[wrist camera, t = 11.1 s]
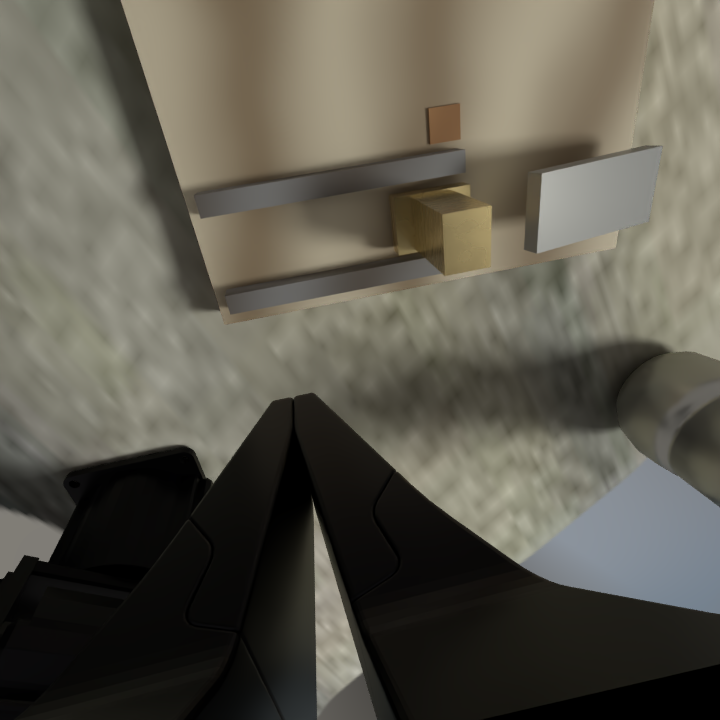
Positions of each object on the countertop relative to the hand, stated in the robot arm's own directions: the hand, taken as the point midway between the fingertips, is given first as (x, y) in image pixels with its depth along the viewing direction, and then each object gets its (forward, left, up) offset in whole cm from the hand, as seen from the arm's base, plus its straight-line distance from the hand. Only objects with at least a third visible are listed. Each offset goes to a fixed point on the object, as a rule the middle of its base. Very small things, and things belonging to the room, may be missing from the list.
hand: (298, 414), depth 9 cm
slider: (+6, +1, -10) cm, 12 cm away
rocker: (+12, +1, -8) cm, 15 cm away
